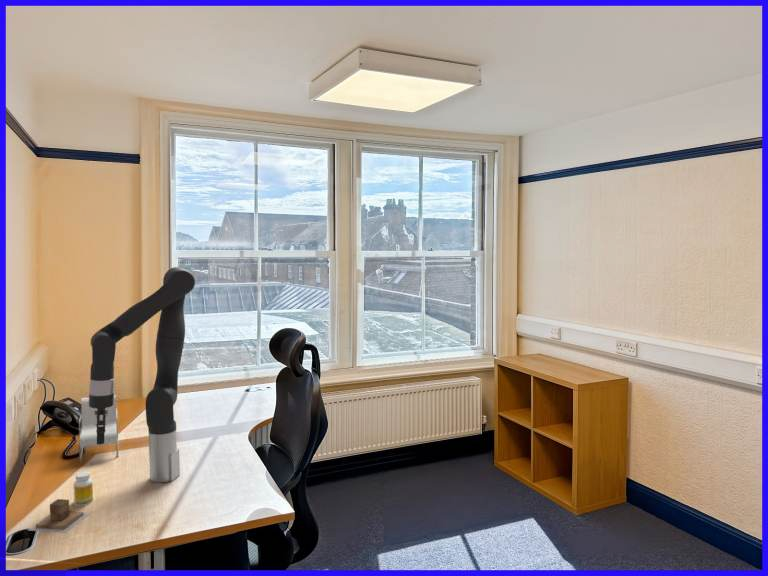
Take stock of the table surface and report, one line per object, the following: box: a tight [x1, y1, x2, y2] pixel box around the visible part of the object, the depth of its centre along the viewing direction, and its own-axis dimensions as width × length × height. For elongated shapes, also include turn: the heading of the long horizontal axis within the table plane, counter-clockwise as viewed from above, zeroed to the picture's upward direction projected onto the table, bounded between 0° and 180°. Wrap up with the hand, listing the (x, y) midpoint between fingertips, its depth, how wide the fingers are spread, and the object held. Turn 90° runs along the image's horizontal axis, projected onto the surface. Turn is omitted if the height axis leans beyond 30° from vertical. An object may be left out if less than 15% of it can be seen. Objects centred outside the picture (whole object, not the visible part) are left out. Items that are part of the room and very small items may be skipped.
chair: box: [78, 394, 119, 463], centre depth 234 cm, size 13×25×20 cm, turn 25°
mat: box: [27, 512, 92, 534], centre depth 175 cm, size 12×12×1 cm
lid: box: [35, 498, 84, 530], centre depth 175 cm, size 9×9×6 cm
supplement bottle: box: [73, 471, 94, 507], centre depth 188 cm, size 5×5×10 cm
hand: (100, 439), depth 195 cm, fingers open, 8 cm apart
